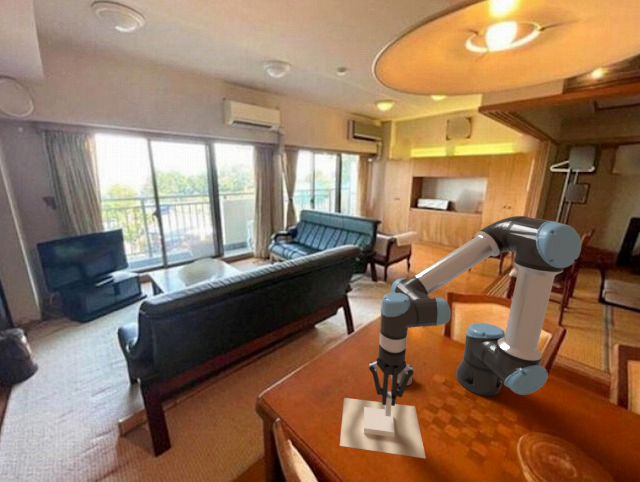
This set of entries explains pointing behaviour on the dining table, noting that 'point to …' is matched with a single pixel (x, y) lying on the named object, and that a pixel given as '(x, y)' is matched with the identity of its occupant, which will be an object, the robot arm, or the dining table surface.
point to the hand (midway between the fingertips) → (387, 412)
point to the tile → (378, 422)
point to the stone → (401, 377)
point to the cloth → (402, 443)
